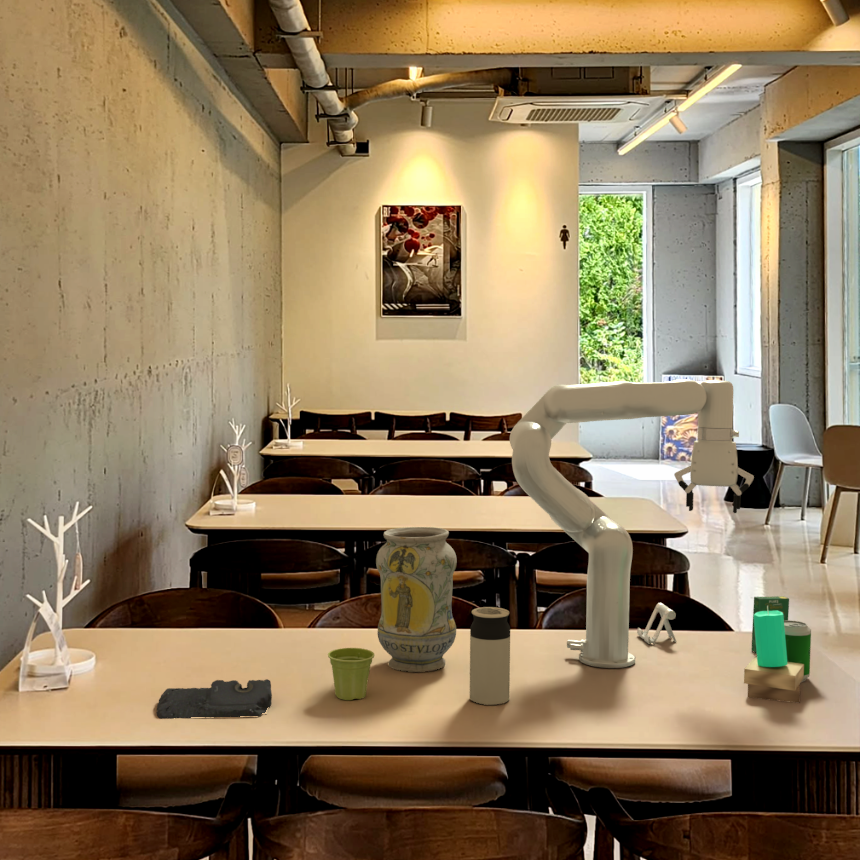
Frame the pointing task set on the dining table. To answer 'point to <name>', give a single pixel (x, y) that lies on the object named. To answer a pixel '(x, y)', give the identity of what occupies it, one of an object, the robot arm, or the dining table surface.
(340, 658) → the plant pot
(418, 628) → the vase
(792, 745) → the dining table surface
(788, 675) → the oak block
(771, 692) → the tan flat block
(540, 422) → the robot arm
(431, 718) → the dining table surface
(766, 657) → the candle
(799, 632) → the soda can
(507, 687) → the travel mug
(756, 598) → the coffee box
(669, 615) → the portable electronic device stand
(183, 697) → the dark slate chunk
